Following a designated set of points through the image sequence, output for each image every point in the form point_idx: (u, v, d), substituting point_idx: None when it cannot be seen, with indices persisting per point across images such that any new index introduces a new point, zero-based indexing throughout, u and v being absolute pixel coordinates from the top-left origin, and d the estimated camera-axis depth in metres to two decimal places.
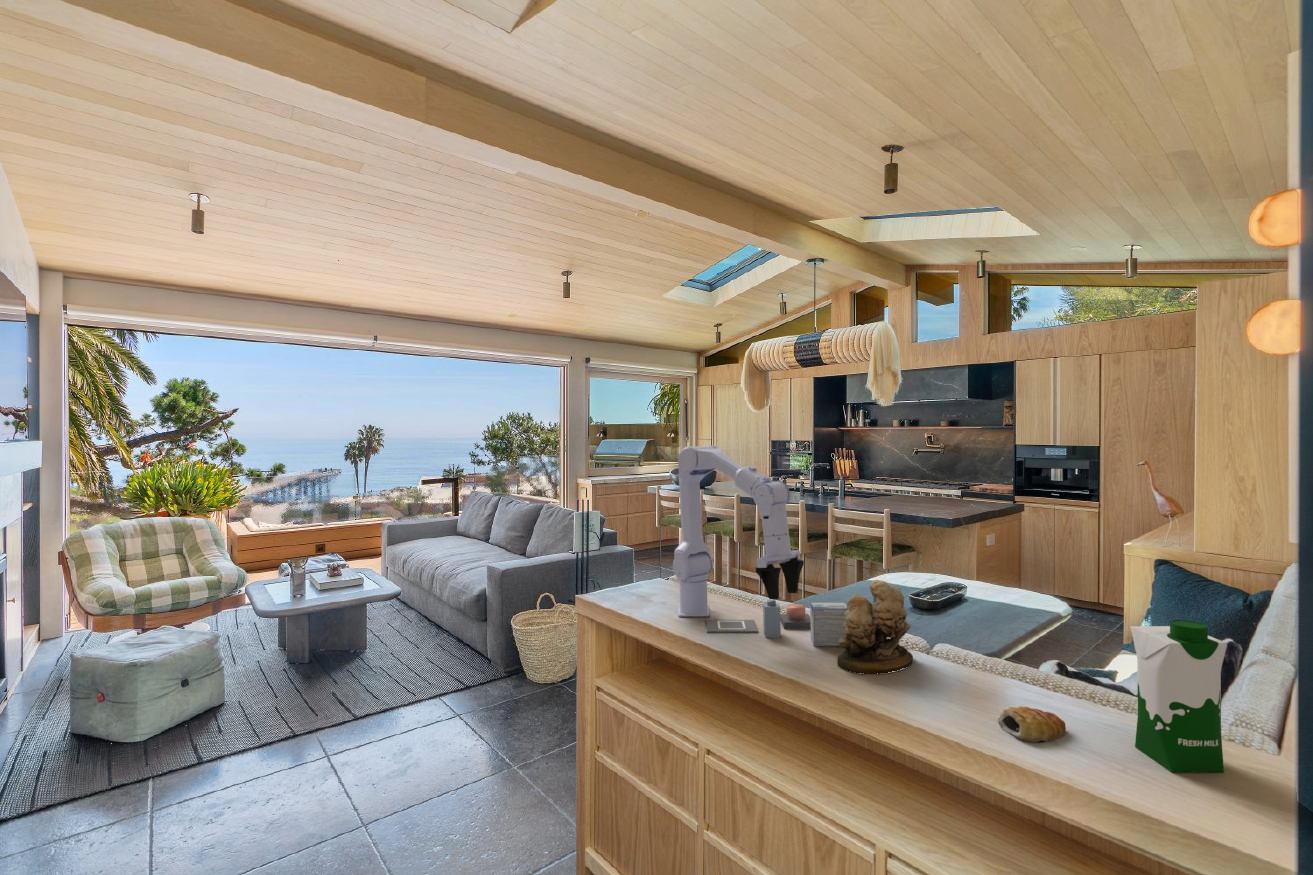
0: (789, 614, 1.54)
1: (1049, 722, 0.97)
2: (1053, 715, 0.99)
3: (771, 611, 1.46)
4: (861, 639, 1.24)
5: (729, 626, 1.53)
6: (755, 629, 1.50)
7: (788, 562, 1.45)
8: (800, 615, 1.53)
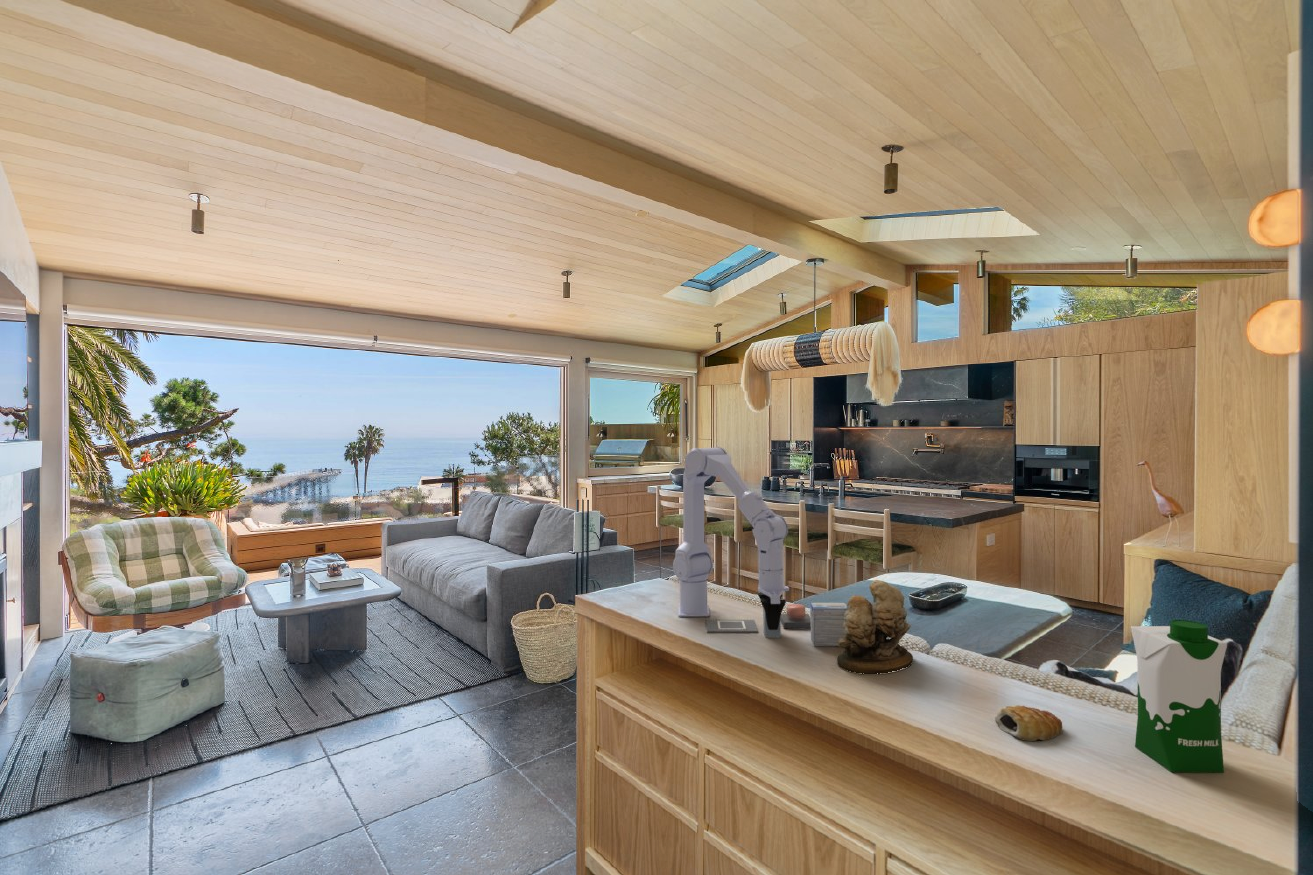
0: (789, 614, 1.54)
1: (1046, 721, 0.97)
2: (1050, 714, 1.00)
3: None
4: (861, 639, 1.24)
5: (729, 626, 1.53)
6: (755, 629, 1.50)
7: None
8: (800, 615, 1.53)
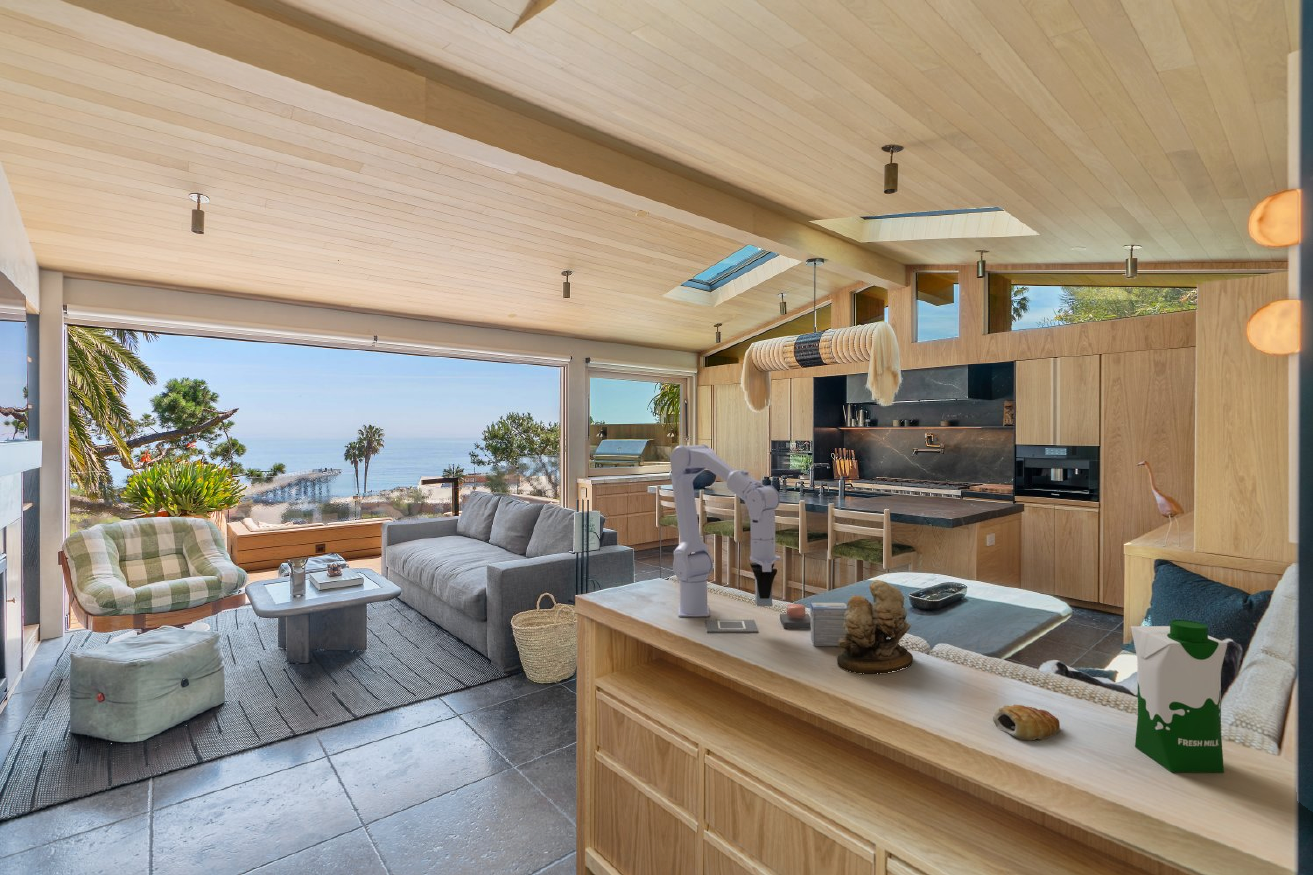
0: (789, 614, 1.54)
1: (1044, 720, 0.97)
2: (1047, 713, 1.00)
3: None
4: (861, 639, 1.24)
5: (729, 626, 1.53)
6: (755, 629, 1.50)
7: None
8: (800, 615, 1.53)
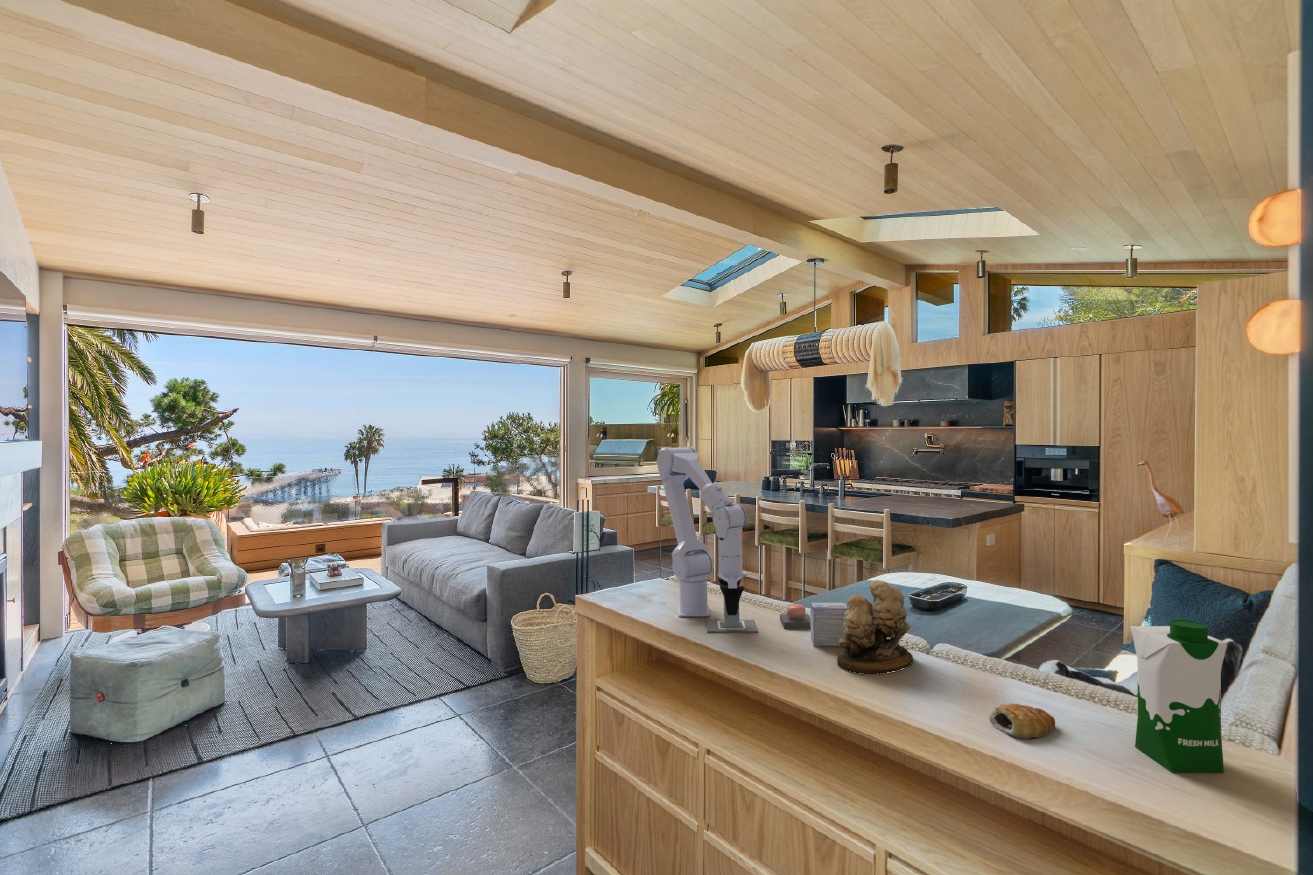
0: (789, 614, 1.54)
1: (1040, 719, 0.98)
2: (1043, 711, 1.01)
3: None
4: (861, 639, 1.24)
5: None
6: (755, 629, 1.50)
7: None
8: (800, 615, 1.53)
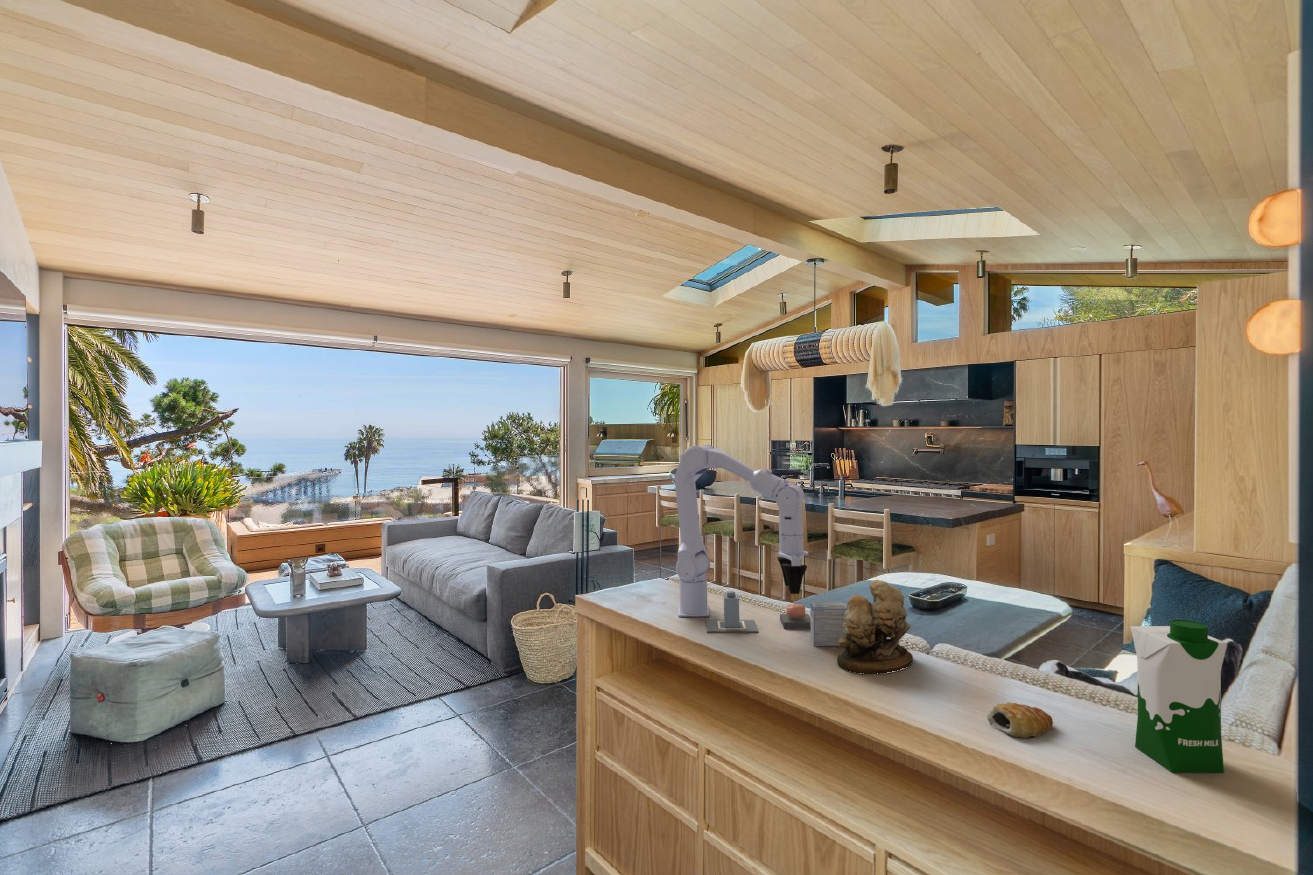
0: (789, 614, 1.54)
1: (1038, 718, 0.98)
2: (1040, 710, 1.01)
3: (730, 602, 1.52)
4: (861, 639, 1.24)
5: None
6: (755, 629, 1.50)
7: None
8: (800, 615, 1.53)
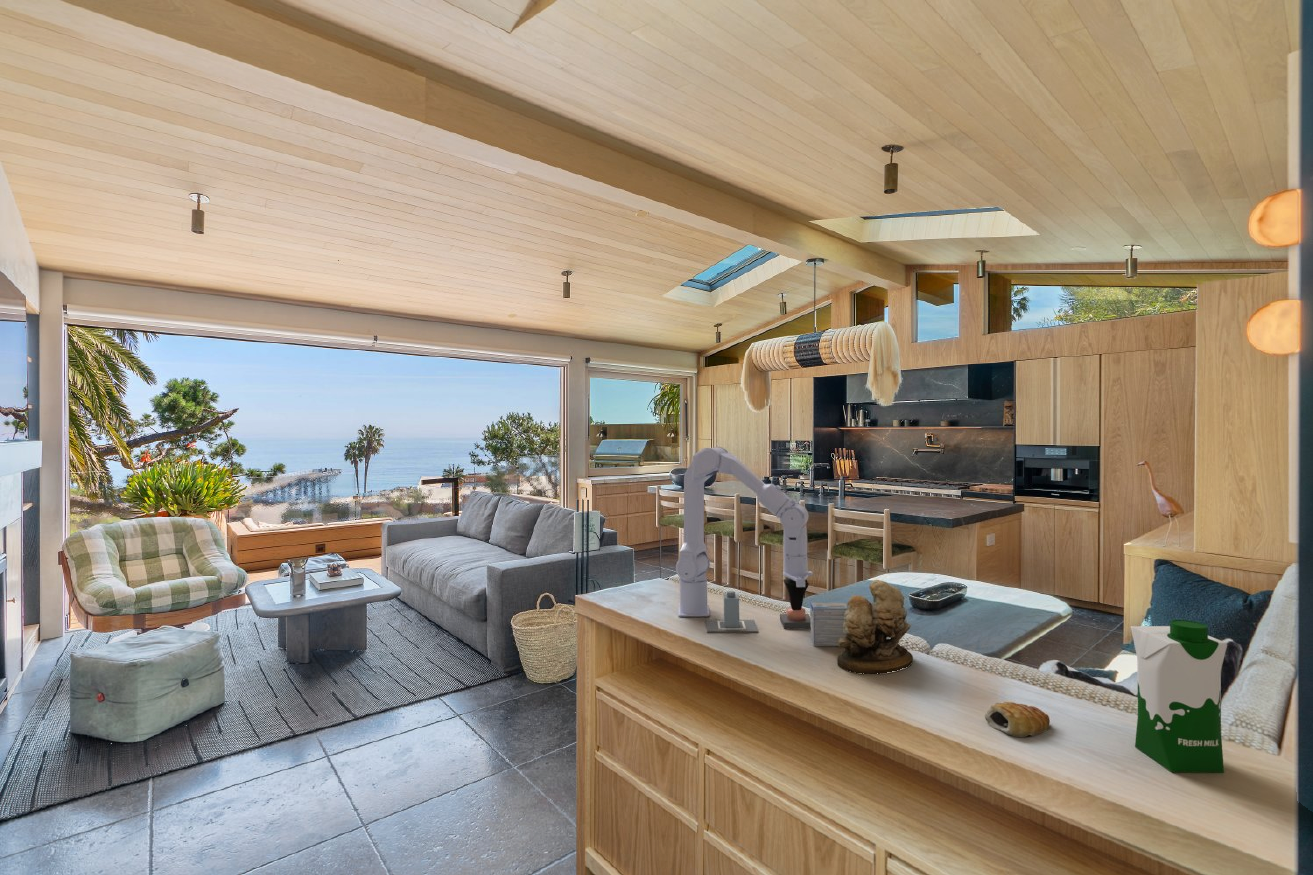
0: (789, 617, 1.54)
1: (1035, 717, 0.99)
2: (1037, 709, 1.01)
3: (730, 602, 1.52)
4: (861, 639, 1.24)
5: None
6: (755, 629, 1.50)
7: None
8: (800, 618, 1.53)
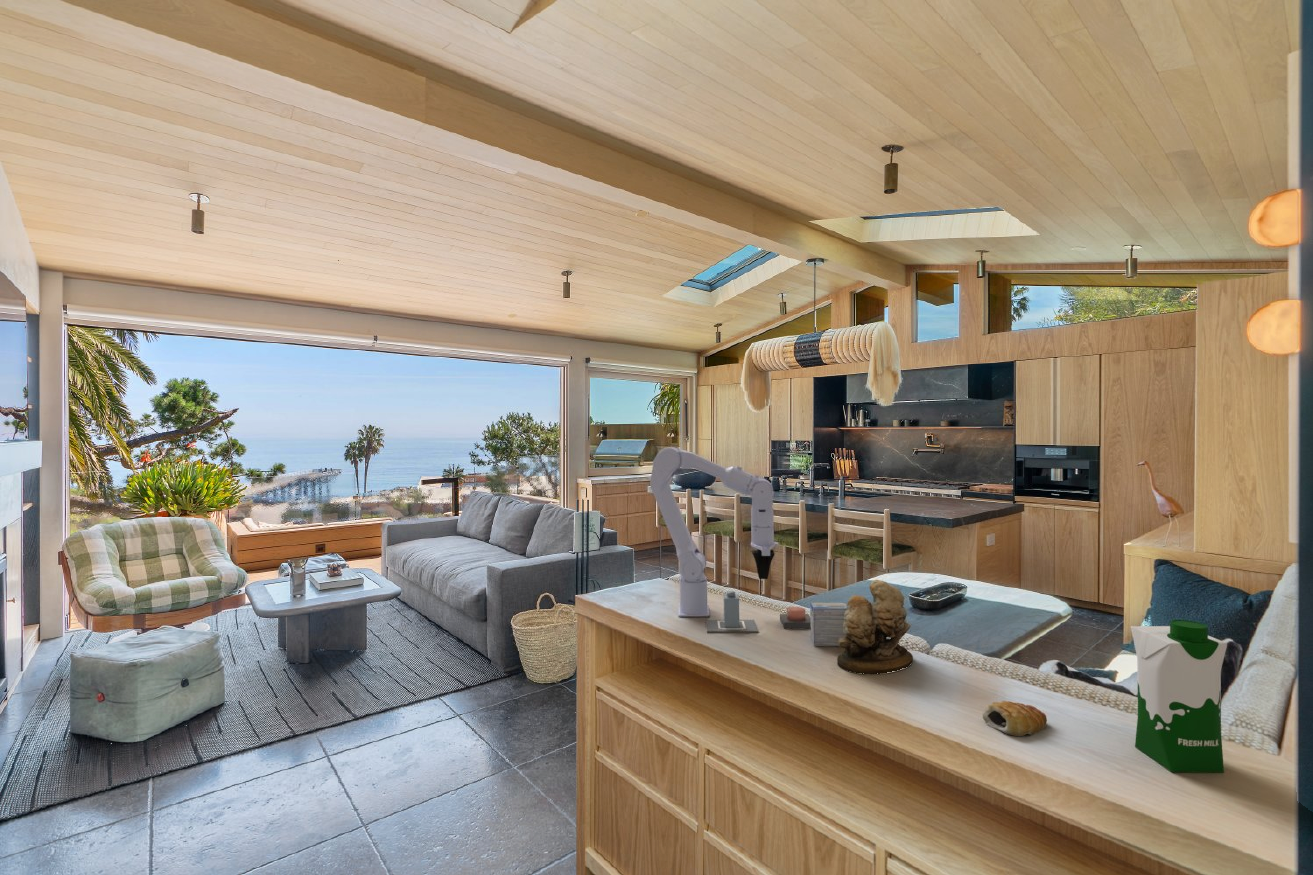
0: (789, 617, 1.54)
1: (1033, 716, 0.99)
2: (1034, 708, 1.02)
3: (730, 602, 1.52)
4: (861, 639, 1.24)
5: None
6: (755, 629, 1.50)
7: None
8: (800, 618, 1.53)
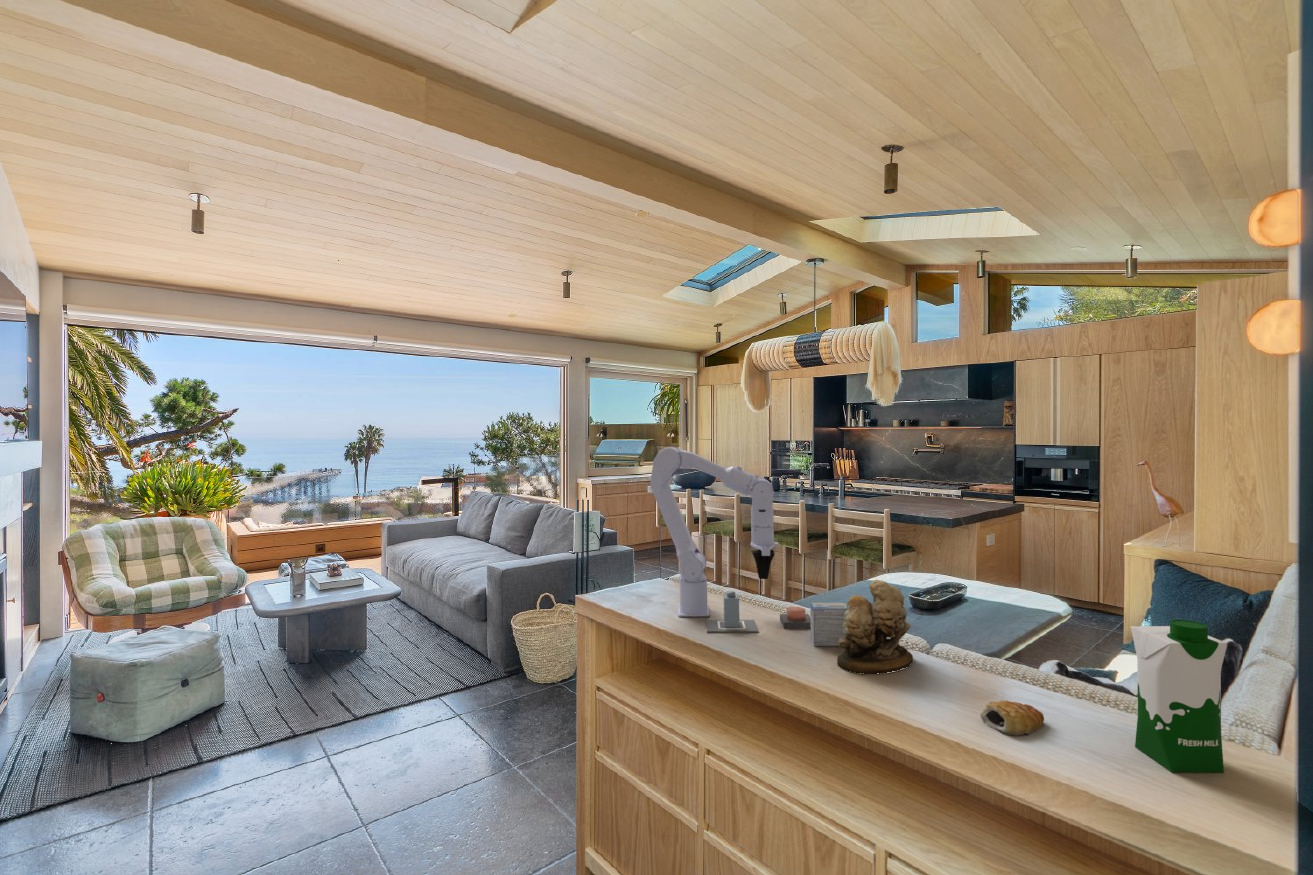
0: (789, 617, 1.54)
1: (1030, 715, 0.99)
2: (1031, 707, 1.02)
3: (730, 602, 1.52)
4: (861, 639, 1.24)
5: None
6: (755, 629, 1.50)
7: None
8: (800, 618, 1.53)
